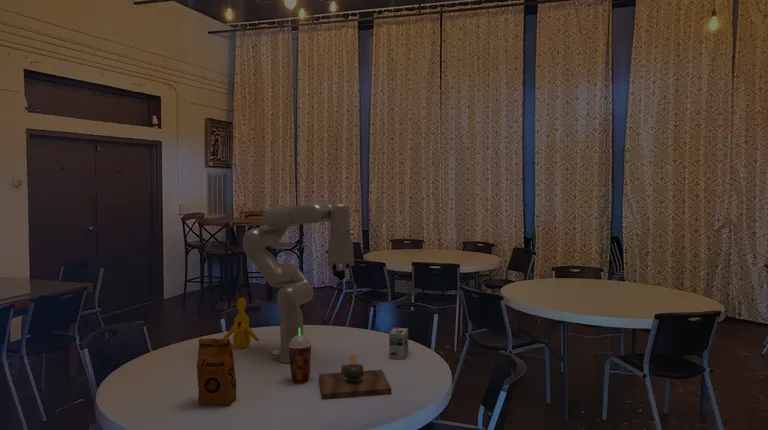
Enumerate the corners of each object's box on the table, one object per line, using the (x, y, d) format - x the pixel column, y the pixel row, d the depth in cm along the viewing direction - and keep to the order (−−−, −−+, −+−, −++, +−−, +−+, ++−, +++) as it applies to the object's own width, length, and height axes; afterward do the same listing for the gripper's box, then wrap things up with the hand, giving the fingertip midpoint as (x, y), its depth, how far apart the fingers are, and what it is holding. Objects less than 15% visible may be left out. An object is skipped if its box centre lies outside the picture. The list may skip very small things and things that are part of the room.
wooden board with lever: (322, 399, 187) (321, 385, 187) (319, 378, 207) (319, 365, 207) (391, 393, 191) (391, 379, 190) (381, 373, 211) (381, 361, 211)
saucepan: (363, 378, 195) (363, 368, 195) (344, 379, 195) (344, 369, 194) (362, 364, 211) (361, 354, 210) (343, 364, 210) (343, 355, 210)
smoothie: (315, 377, 208) (314, 326, 207) (305, 385, 200) (304, 331, 199) (296, 375, 211) (294, 324, 210) (285, 383, 203) (283, 329, 202)
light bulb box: (404, 359, 228) (404, 334, 227) (389, 359, 229) (388, 333, 229) (408, 352, 238) (408, 327, 238) (393, 351, 240) (393, 327, 239)
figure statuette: (219, 349, 247) (217, 301, 245) (224, 344, 254) (223, 297, 253) (258, 349, 246) (257, 300, 245) (262, 344, 254) (261, 297, 253)
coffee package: (229, 408, 180) (227, 342, 179) (193, 407, 182) (191, 341, 181) (241, 397, 190) (239, 334, 189) (207, 395, 192) (205, 333, 191)
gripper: (358, 233, 222) (359, 278, 223) (321, 234, 220) (322, 279, 221) (359, 235, 214) (360, 281, 215) (321, 236, 212) (322, 282, 213)
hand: (341, 280), depth 218 cm, fingers closed
